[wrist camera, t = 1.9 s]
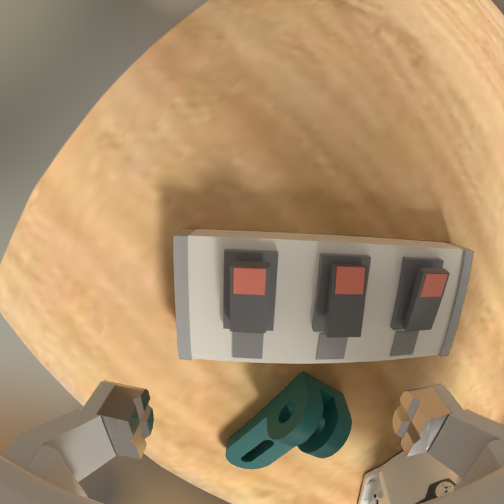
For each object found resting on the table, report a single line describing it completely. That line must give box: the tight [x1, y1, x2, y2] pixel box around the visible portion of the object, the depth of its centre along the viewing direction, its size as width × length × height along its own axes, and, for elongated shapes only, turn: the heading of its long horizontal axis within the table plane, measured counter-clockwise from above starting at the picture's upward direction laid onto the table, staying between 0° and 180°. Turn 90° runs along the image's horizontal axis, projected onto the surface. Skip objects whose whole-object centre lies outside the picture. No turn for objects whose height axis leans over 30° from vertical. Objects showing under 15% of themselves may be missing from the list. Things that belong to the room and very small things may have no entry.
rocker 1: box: [230, 261, 270, 333], centre depth 24 cm, size 6×3×1 cm, turn 178°
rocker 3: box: [402, 268, 450, 331], centre depth 23 cm, size 6×3×1 cm, turn 178°
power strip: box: [173, 229, 474, 364], centre depth 28 cm, size 12×29×5 cm, turn 88°
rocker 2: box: [324, 264, 368, 338], centre depth 24 cm, size 6×3×1 cm, turn 178°
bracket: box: [226, 371, 352, 469], centre depth 30 cm, size 18×7×8 cm, turn 144°
